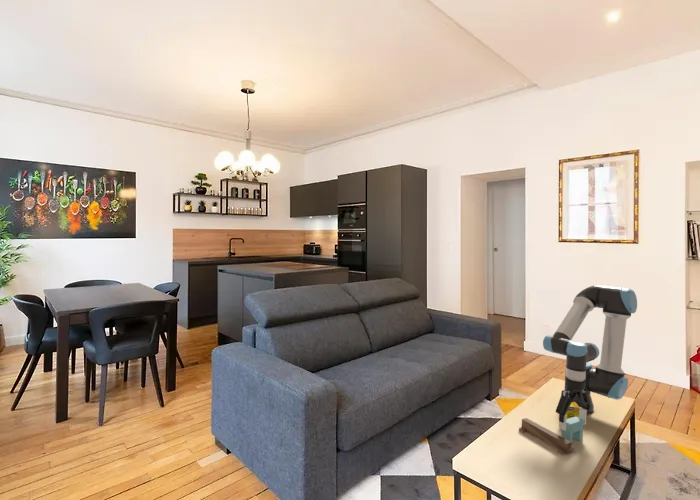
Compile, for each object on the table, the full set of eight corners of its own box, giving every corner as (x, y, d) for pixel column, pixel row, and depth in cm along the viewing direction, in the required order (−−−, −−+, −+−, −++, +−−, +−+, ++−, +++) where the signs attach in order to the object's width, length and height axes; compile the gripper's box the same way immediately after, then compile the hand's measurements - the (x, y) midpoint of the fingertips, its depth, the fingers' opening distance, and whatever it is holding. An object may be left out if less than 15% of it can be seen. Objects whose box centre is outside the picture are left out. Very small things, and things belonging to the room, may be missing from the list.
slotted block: (574, 435, 171) (575, 416, 171) (582, 439, 168) (583, 419, 167) (561, 440, 167) (562, 420, 167) (569, 444, 164) (570, 424, 164)
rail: (529, 426, 179) (529, 417, 178) (574, 451, 159) (574, 441, 159) (518, 429, 176) (518, 420, 175) (563, 455, 156) (563, 445, 156)
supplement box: (579, 430, 176) (580, 407, 175) (564, 429, 177) (566, 406, 176) (574, 424, 181) (575, 401, 181) (560, 422, 183) (561, 400, 182)
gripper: (584, 371, 175) (582, 416, 176) (548, 379, 164) (545, 427, 165) (601, 377, 168) (598, 424, 169) (564, 385, 157) (561, 436, 158)
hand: (572, 426), depth 167 cm, fingers open, 13 cm apart
